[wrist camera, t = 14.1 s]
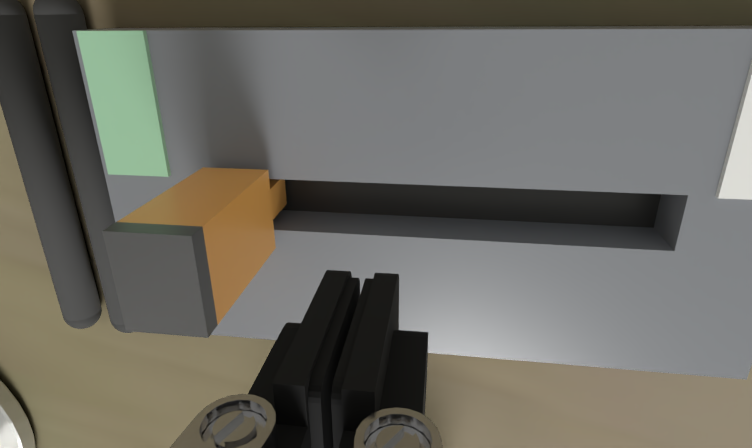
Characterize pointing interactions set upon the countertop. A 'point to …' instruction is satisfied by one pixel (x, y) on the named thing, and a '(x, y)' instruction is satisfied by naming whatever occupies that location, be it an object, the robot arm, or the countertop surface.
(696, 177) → the panel
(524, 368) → the countertop surface
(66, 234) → the rods
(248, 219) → the toggle
